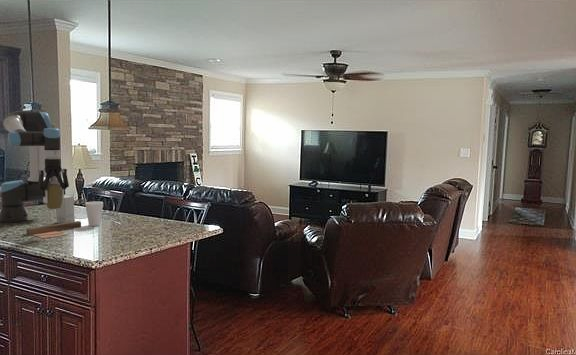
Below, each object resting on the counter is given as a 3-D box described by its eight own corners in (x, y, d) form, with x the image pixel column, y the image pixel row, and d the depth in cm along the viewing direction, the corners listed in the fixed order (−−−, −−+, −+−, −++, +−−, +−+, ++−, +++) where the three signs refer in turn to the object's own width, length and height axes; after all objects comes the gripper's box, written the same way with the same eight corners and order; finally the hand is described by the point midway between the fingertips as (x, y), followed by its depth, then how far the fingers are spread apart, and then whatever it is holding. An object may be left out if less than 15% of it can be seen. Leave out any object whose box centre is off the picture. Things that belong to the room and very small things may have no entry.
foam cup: (87, 227, 266) (87, 204, 264) (84, 224, 273) (83, 202, 272) (105, 225, 271) (104, 203, 270) (101, 222, 279) (101, 201, 277)
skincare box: (75, 222, 278) (74, 196, 276) (65, 224, 272) (64, 197, 270) (65, 221, 282) (64, 195, 280) (55, 222, 276) (54, 196, 274)
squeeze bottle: (65, 208, 246) (64, 174, 244) (48, 210, 240) (47, 174, 238) (59, 206, 251) (58, 172, 249) (43, 207, 246) (42, 173, 244)
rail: (26, 234, 246) (26, 228, 246) (78, 226, 268) (78, 220, 268) (41, 239, 236) (41, 233, 236) (94, 230, 258) (93, 225, 258)
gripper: (35, 159, 232) (37, 205, 235) (75, 158, 249) (76, 200, 251) (28, 158, 237) (29, 203, 239) (68, 157, 254) (69, 199, 256)
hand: (53, 201), depth 245 cm, fingers closed on squeeze bottle, 8 cm apart
